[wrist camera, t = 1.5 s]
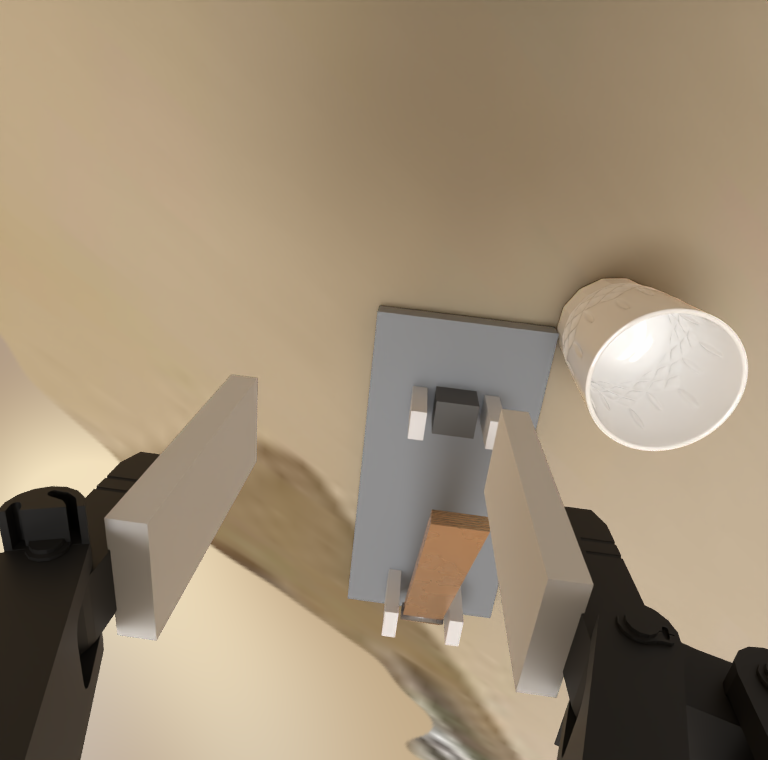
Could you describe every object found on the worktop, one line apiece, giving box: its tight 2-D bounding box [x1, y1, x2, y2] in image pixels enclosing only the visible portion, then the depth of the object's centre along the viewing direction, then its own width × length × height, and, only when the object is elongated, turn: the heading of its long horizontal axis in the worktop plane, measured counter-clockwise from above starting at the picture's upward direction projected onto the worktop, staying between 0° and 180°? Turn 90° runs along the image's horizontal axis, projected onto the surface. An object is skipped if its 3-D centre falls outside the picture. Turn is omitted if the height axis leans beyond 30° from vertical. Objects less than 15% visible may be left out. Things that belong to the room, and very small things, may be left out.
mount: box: [348, 306, 559, 646], centre depth 40 cm, size 25×12×6 cm, turn 174°
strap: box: [401, 509, 490, 625], centre depth 36 cm, size 19×3×1 cm
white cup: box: [557, 278, 748, 451], centre depth 33 cm, size 8×8×10 cm
